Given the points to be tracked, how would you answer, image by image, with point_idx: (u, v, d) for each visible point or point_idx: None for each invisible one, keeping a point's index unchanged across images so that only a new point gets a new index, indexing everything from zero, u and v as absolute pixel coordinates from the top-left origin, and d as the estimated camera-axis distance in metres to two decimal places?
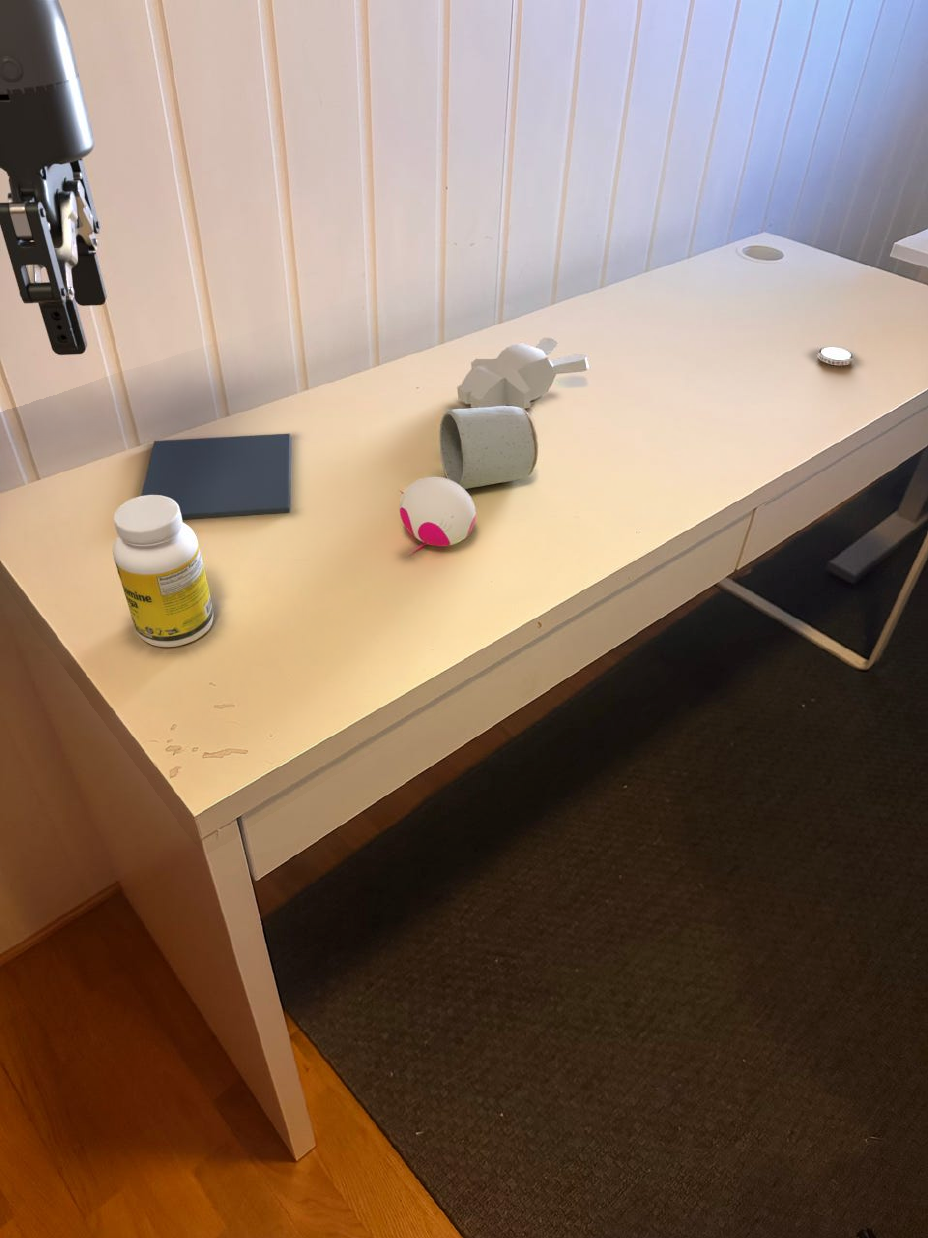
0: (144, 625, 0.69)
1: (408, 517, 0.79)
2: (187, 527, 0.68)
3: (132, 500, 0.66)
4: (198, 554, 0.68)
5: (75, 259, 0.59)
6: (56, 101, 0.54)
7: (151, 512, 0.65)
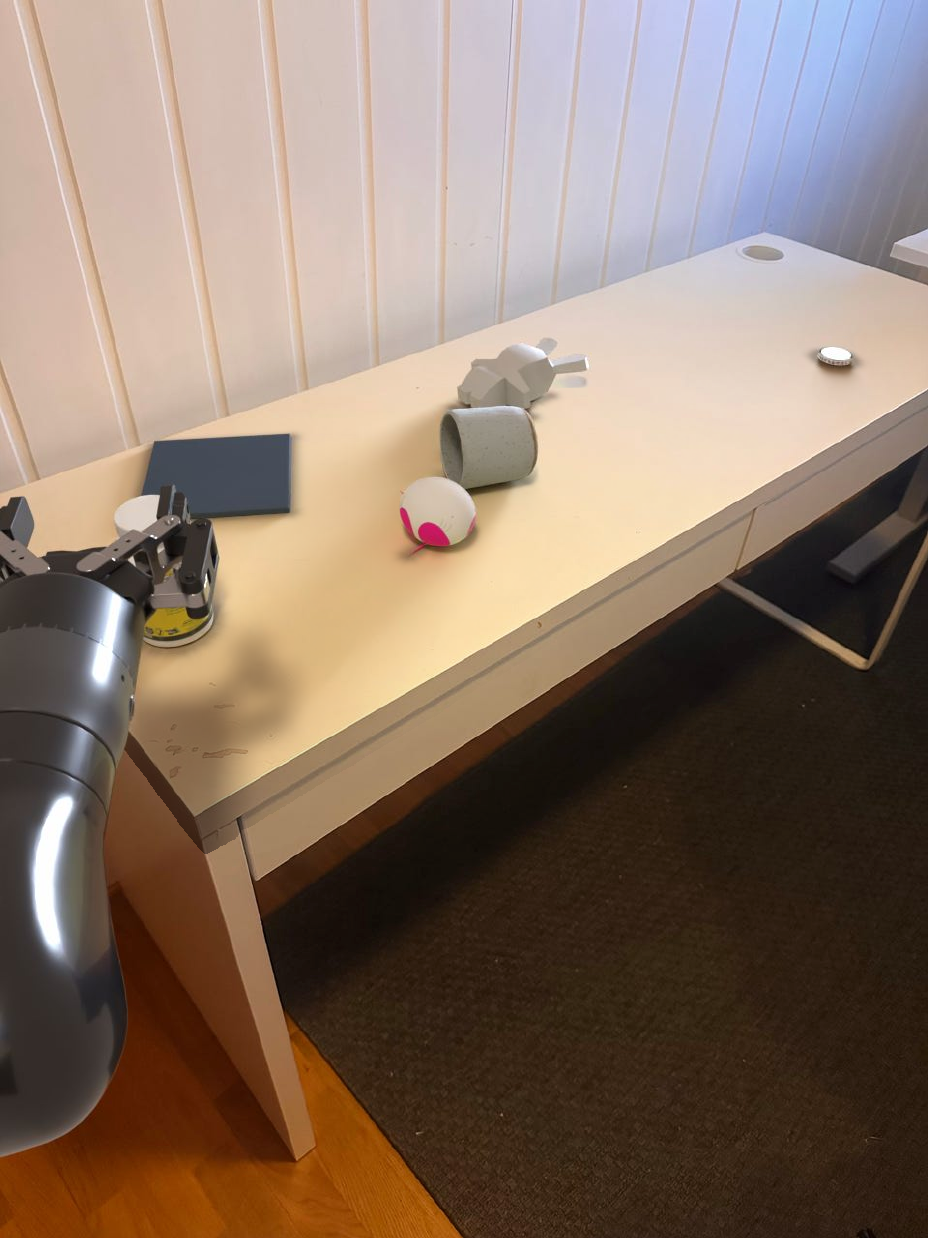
0: None
1: (408, 517, 0.79)
2: None
3: (132, 500, 0.66)
4: None
5: None
6: None
7: (151, 512, 0.65)
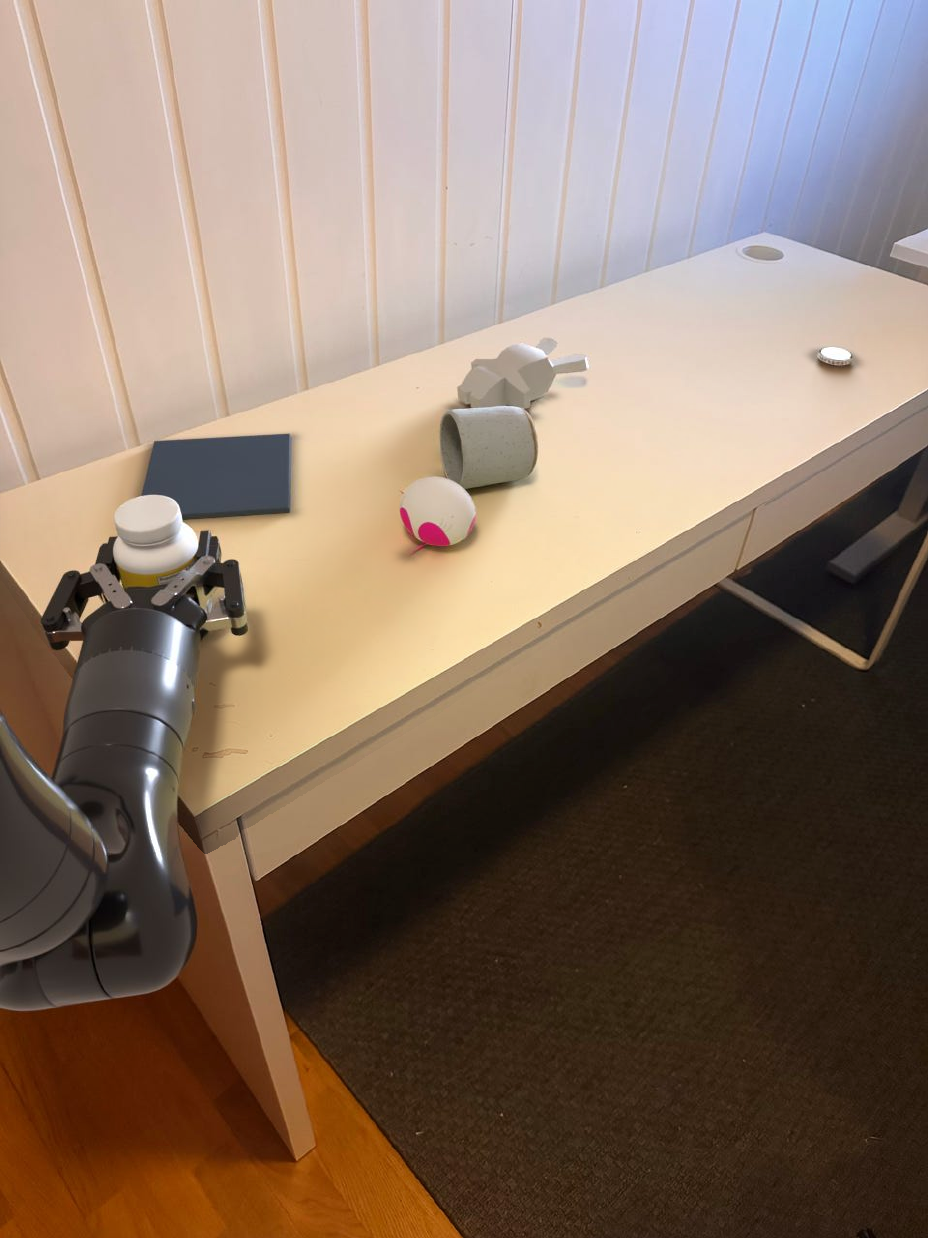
0: None
1: (408, 517, 0.79)
2: (187, 527, 0.68)
3: (132, 500, 0.66)
4: None
5: None
6: None
7: (151, 511, 0.65)
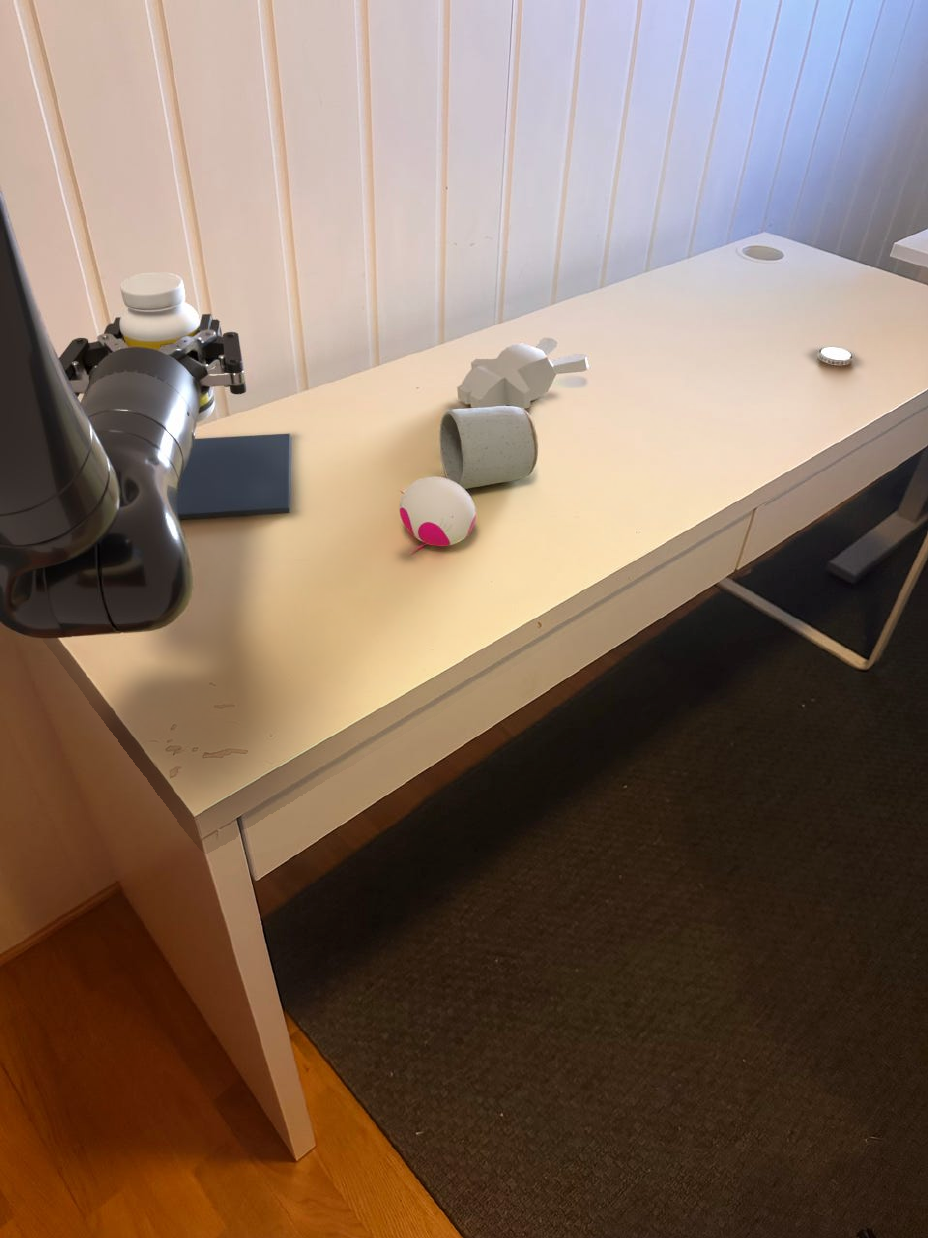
0: None
1: (408, 517, 0.79)
2: None
3: (138, 275, 0.70)
4: None
5: None
6: None
7: (156, 282, 0.69)
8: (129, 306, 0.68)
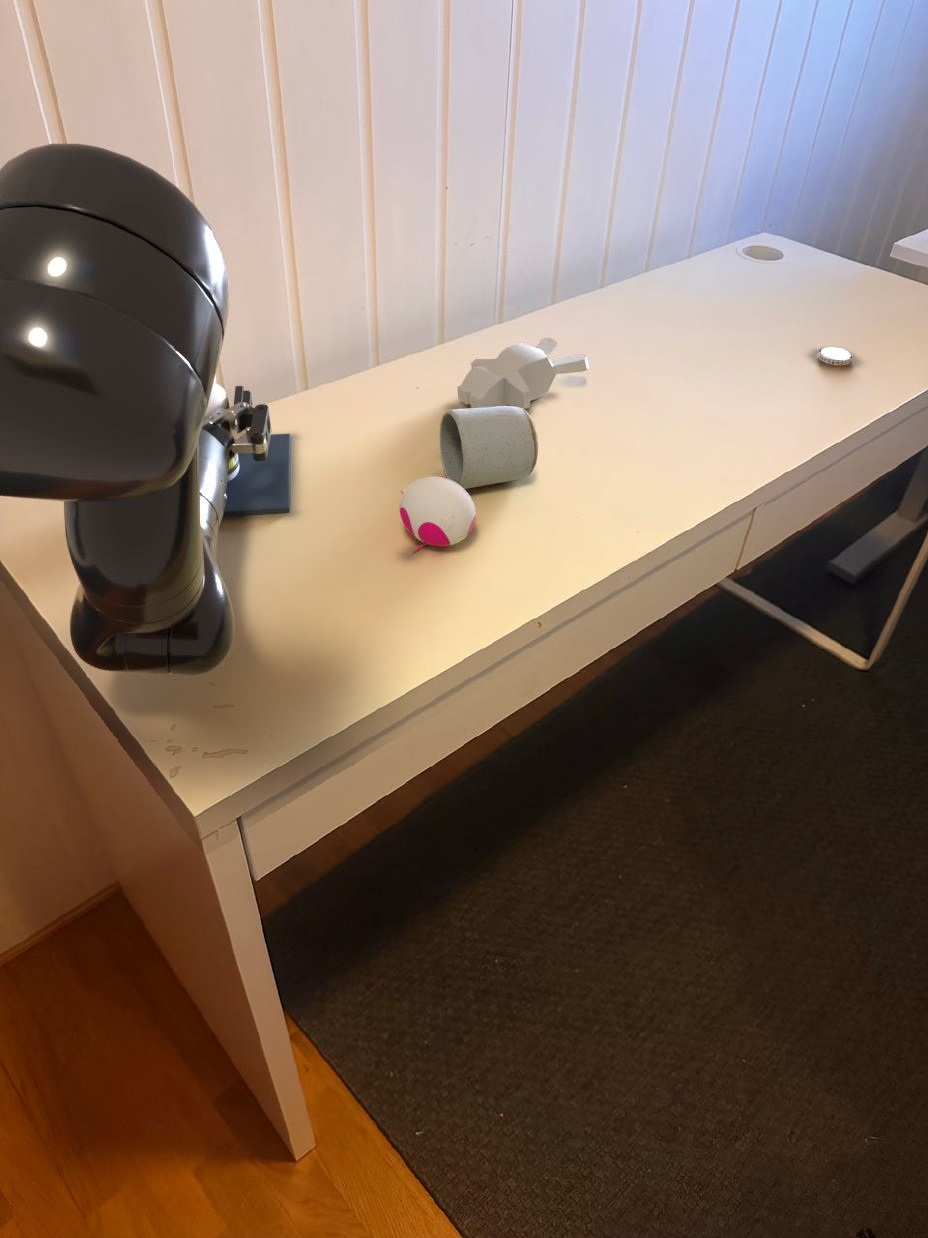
0: None
1: (408, 517, 0.79)
2: (219, 386, 0.84)
3: None
4: (228, 408, 0.84)
5: None
6: None
7: None
8: None
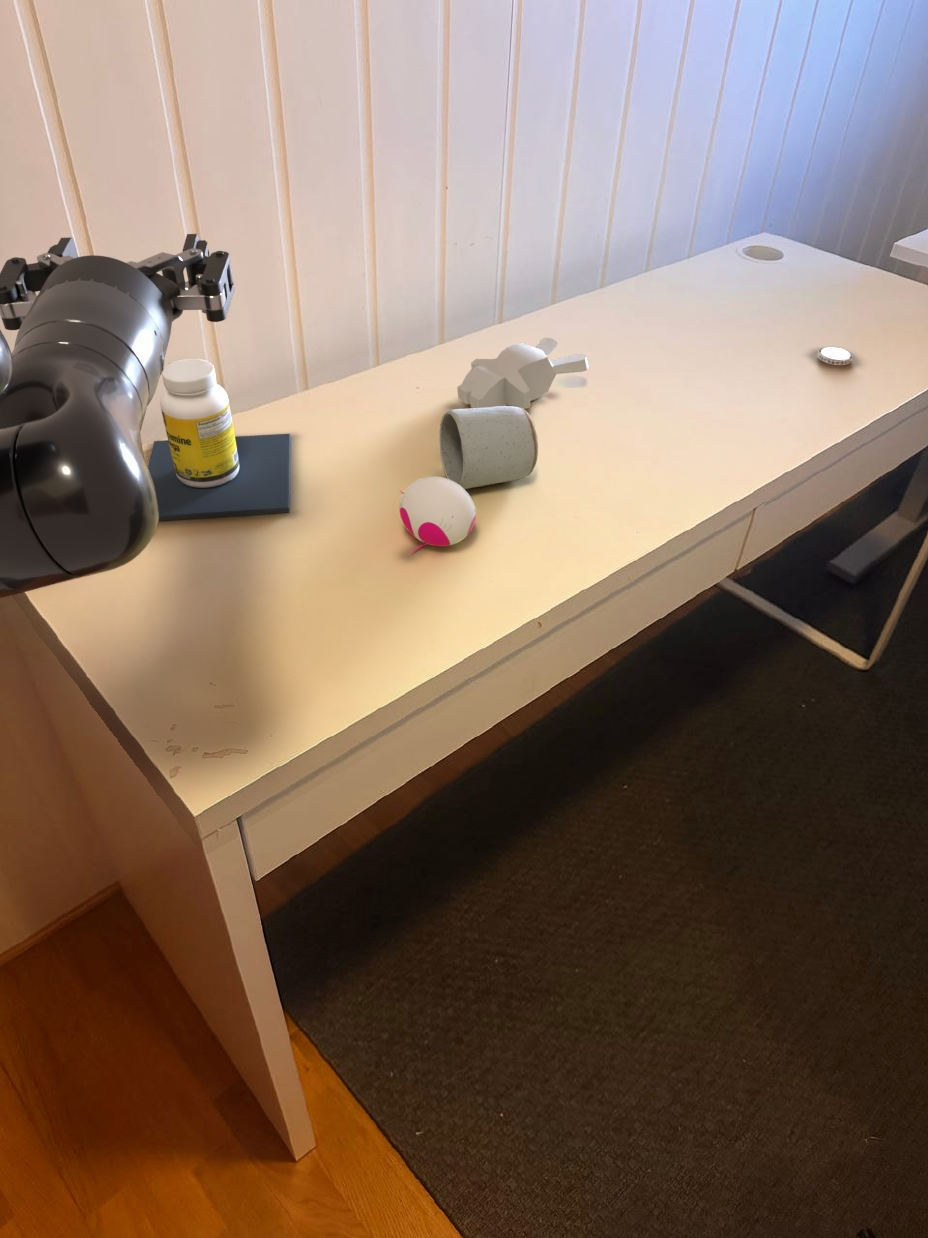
0: (184, 467, 0.85)
1: (408, 517, 0.79)
2: (219, 386, 0.84)
3: (176, 361, 0.82)
4: (228, 408, 0.84)
5: None
6: None
7: (192, 369, 0.81)
8: (169, 390, 0.81)
